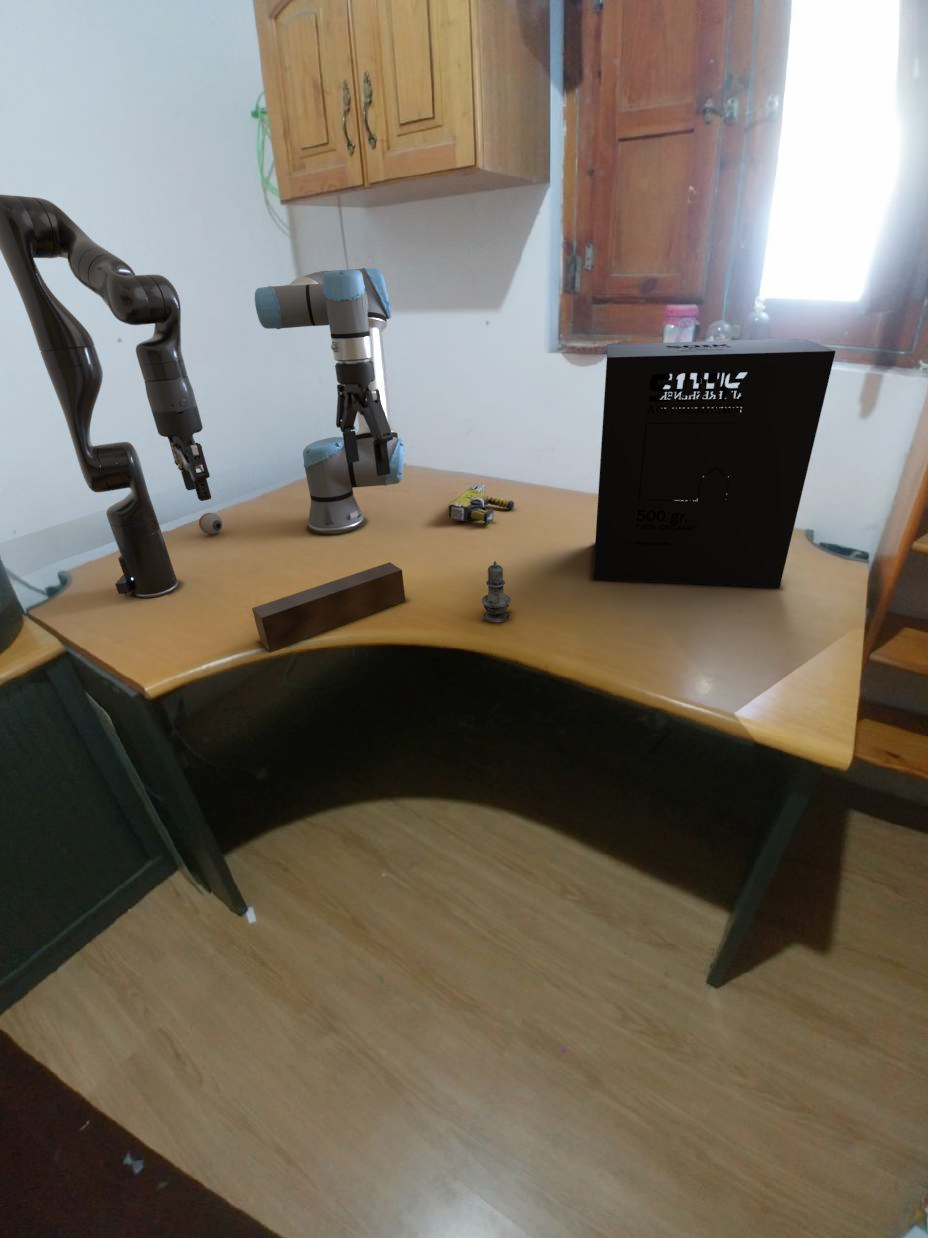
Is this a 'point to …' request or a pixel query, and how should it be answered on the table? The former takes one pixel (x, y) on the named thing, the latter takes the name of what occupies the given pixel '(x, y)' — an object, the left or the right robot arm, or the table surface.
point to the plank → (328, 606)
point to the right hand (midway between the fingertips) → (367, 468)
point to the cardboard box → (706, 459)
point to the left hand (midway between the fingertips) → (198, 494)
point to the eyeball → (210, 523)
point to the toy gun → (475, 505)
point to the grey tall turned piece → (496, 596)
